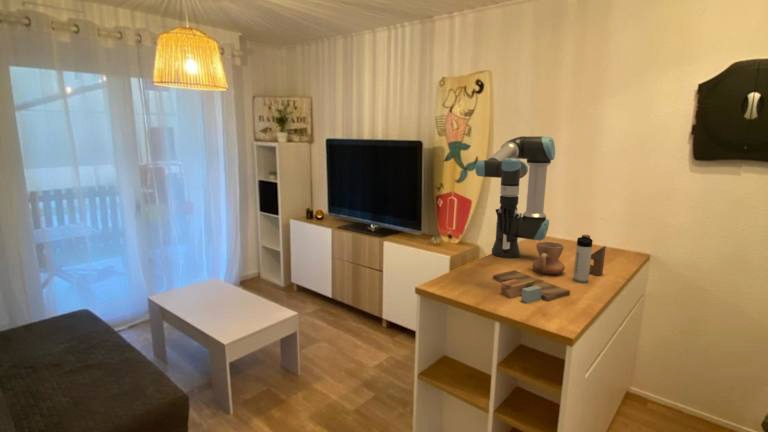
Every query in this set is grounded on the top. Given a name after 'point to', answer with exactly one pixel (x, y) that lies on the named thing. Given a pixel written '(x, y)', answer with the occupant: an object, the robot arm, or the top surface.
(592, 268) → the wooden block
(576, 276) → the travel mug
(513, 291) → the brown wooden handled block
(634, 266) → the top surface
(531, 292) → the block
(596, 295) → the top surface
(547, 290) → the board
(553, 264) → the ceramic jug
